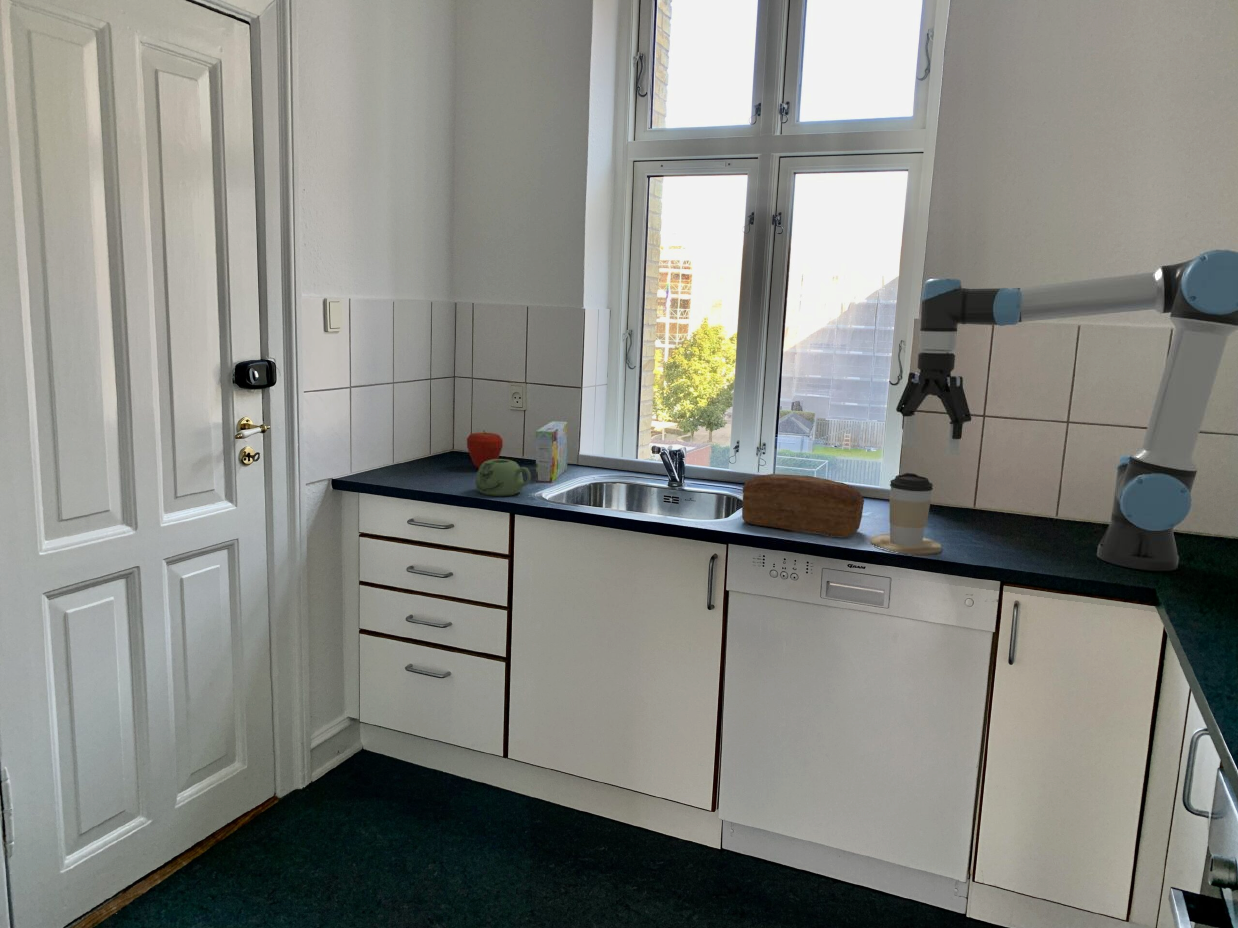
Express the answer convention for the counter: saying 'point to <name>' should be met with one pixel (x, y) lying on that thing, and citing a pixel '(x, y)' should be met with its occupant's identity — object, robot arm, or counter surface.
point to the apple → (484, 447)
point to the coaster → (925, 549)
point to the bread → (802, 504)
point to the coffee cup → (909, 508)
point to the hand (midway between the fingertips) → (929, 449)
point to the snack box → (551, 451)
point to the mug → (501, 477)
